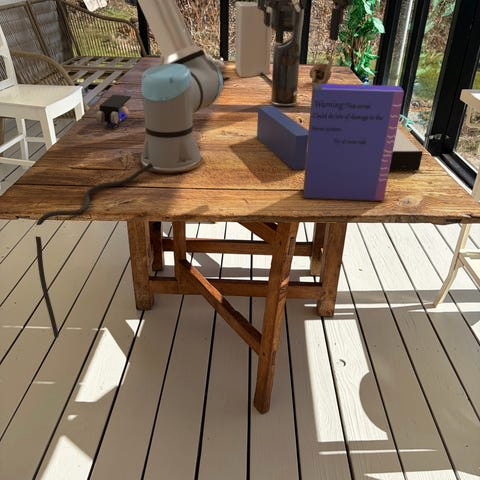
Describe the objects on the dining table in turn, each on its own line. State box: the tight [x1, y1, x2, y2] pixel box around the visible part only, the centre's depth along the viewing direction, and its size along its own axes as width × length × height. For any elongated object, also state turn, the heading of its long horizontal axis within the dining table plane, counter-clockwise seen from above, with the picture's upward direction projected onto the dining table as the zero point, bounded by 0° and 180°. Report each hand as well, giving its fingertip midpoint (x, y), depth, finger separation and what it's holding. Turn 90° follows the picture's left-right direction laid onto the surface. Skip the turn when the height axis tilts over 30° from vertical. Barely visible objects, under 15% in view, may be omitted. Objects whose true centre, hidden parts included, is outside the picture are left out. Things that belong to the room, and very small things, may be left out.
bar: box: [256, 105, 309, 171], centre depth 129 cm, size 26×5×9 cm, turn 19°
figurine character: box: [95, 94, 132, 130], centre depth 148 cm, size 7×8×15 cm
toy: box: [159, 51, 226, 68], centre depth 223 cm, size 24×25×7 cm
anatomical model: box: [309, 55, 334, 84], centre depth 196 cm, size 13×9×15 cm
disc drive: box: [389, 127, 424, 172], centre depth 128 cm, size 18×22×5 cm
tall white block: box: [234, 1, 273, 78], centre depth 210 cm, size 19×15×28 cm
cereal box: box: [302, 83, 405, 202], centre depth 102 cm, size 17×5×24 cm, turn 86°
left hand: (306, 41), depth 108 cm, fingers open, 13 cm apart
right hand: (280, 26), depth 140 cm, fingers open, 8 cm apart
